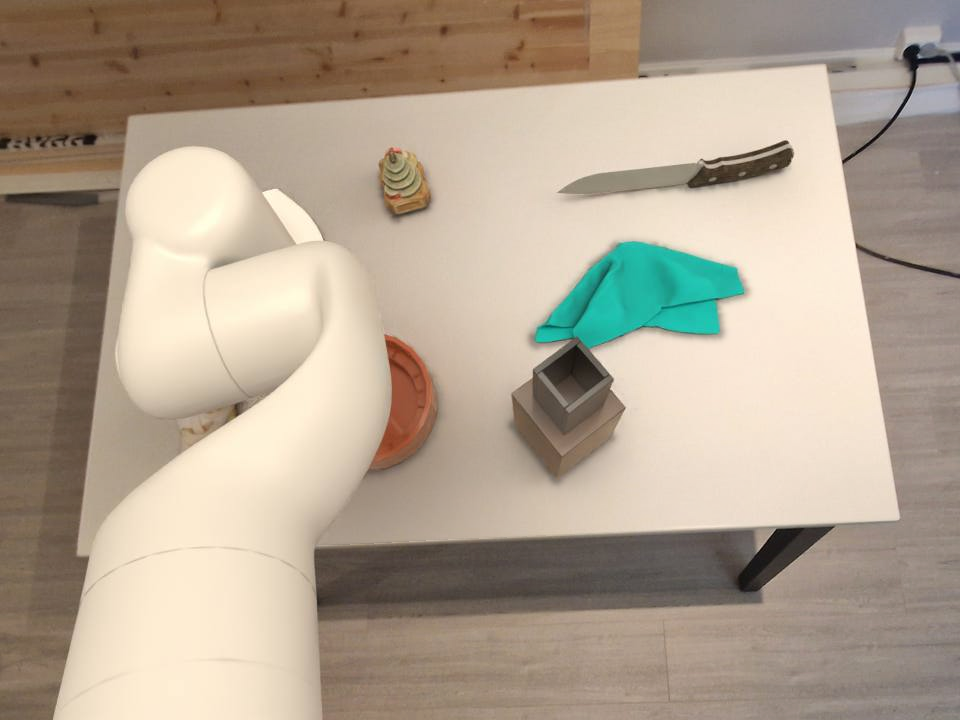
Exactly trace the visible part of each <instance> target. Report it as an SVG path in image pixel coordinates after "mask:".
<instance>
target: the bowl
mask: <svg viewBox="0 0 960 720" xmlns="http://www.w3.org/2000/svg"><path fill="white" fill-rule="evenodd" d="M384 337H385V343H386V348H387V354H388V360H389V366H390V372H391V382H392V400H391V410H390V415H389V419H388V423H387V426H386V430H385V433H384V435H383V438H382V441H381V443H380V445H379V447H378V450H377V452H376V454H375V456H374V458H373V460H372V462H371V464H370V466H369V468H368V470H384V469H387V468H390V467H392V466H395V465H399V464H400V463H402V462H404V461H405V460H407V459H408V458H409V457H411V456H412V455H413V454H414V453H416V452H417V451H419V450H420V448H421V447H422V445H423V444H424V443H425V441H426V440H427V439H428V437H429V436H430V434H431V432H432V429H433V426H434V423H435V420H436V417H437V413H438V411H437V409H438V405H437V403H438V398H437V397H438V395H437V391H436V388H435V385H434V381H433V379H432V376H431V374H430V372H429V370H428V368H427V366H426V363H425V362H424V361H423V359H422V358H421V357H420V356H419V354H418V353H417V352H416V350H415V349H414V348H413V347H411V346H410V345H409V344H407V343H405V342H404V341H402V340H401V339H400V338H398V337H396V336H393V335H390V334H389V335H388V334H385V333H384ZM368 470H367V471H368Z"/></svg>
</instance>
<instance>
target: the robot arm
mask: <svg viewBox="0 0 960 720" xmlns="http://www.w3.org/2000/svg"><path fill="white" fill-rule="evenodd" d="M262 192H263V191H262V190H261V189H260V188H259V186H258V185H257V183H256V182H255V180H254V178H253V177H252V176H251V174H250V173H249V172H248V171H247V169H246V168H245V167H244V166H243V165H242V164H241V163H240V162H239V161H238V160H236V159H235V158H234V157H232V156H231V155H229V154H228V153H226V152H223V151H221V150H219V149H216V148H213V147H207V146H198V145H197V146H193V145H191V146H188V145H187V146H182V147H176V148H173V149H170V150H168V151H166V152H164V153H162V154H160V155H158V156H156V157H154V158H153V159H152V160H150V161H149V162H148V163H146V164H145V165H144V166H143V167H142V168H141V169H140V171H139V172H138V173H137V174H136V175H135V177H134V178H133V181H132V182H131V183H130V186H129V189H128V190H127V193H126V198H125V204H124V217H125V222H126V226H127V227H126V228H127V229H128V232H129V234H130V236H131V239H132V244H131V250H130V251H131V252H130V259H129V265H128V274H127V278H126V284H125V290H124V294H123V299H122V307H121V311H120V316H119V324H118V330H117V331H118V332H117V339H116V342H115V347H114V362H115V368H116V371H117V374H118V377H119V380H120V382H121V384H122V385H123V387H124V389H125V392H126V394H127V395H128V398H129V399H130V400H131V402H132V403H133V404H134V406H136V408H138V409H139V411H141V412H142V413H143V414H145V415H148V416H150V417H151V418H154V419H157V420H164V421H176V420H177V419H183V418H188V417H192V416H196V415H199V414H203V413H206V412H209V411H213V410H216V409H219V408H222V407H225V406H229V405H232V404H235V405H236V404H239V403H242V402H244V401H248V400H251V399H254V398H258V397H261V396H263V395H267V394H268V395H267V396H265V397H264V398H262V399H261V400H259V401H258V402H256V403H255V404H254V405H253V406H251V407H250V408H248V409H247V410H245V411H244V412H242V413H241V414H239V415H237V416H236V418H234V419H233V420H231V421H230V422H227V424H225V425H224V426H222V427H220V428H219V429H217V430H216V431H214V432H213V433H211V434H210V435H208V436H206V437H205V438H203V439H202V440H200V441H199V442H197V443H195V444H194V445H192V446H191V447H190V448H188V449H187V450H185V451H184V452H182V453H181V454H180V455H179V454H178V455H177V456H175V457H174V458H172V459H171V460H169V461H168V462H167V463H165V464H164V465H163V466H162V467H160V468H159V469H158V470H157V471H155V472H154V473H153V474H151V475H150V476H149V477H148V478H146V479H145V480H144V481H143V482H141V483H140V484H139V485H138V486H136V487H135V488H134V489H133V490H132V491H131V492H129V493H128V494H127V495H126V496H125V497H124V498H123V499H121V501H120V502H119V503H118V504H117V505H116V506H114V508H113V509H112V511H110V512H109V514H108V515H107V516H106V517H105V519H104V521H103V522H102V523H101V525H100V527H99V528H98V530H97V532H96V534H95V537H94V539H93V541H92V545H91V549H90V553H89V558H88V562H87V566H86V573H85V577H84V582H83V587H82V590H81V596H80V600H79V603H78V608H77V612H76V613H77V614H76V619H75V624H74V627H73V631H72V635H71V636H72V637H71V640H70V645H69V650H68V653H67V657H66V661H65V665H64V671H63V675H62V679H61V683H60V687H59V691H58V695H57V700H56V705H55V708H54V713H53V717H52V720H323V718H324V717H323V702H322V681H321V661H320V660H321V659H320V639H319V618H318V597H317V583H316V582H317V581H316V567H315V566H316V565H315V549H316V546H317V544H318V543H319V541H320V540H321V539H322V537H323V536H324V534H325V533H326V532H327V531H328V529H329V528H330V527H331V526H332V525H333V523H334V522H335V521H336V520H337V518H338V517H339V515H340V514H341V513H342V511H343V510H344V509H345V508H346V506H347V505H348V503H349V502H350V500H351V498H352V497H354V494H355V492H356V491H357V489H358V487H359V486H360V484H361V483H362V481H363V479H364V478H365V475H366V474H367V471H368V468H369V466H370V464H371V462H372V460H373V458H374V456H375V454H376V452H377V450H378V447H379V445H380V443H381V441H382V438H383V435H384V433H385V430H386V426H387V423H388V419H389V415H390V410H391V400H392V382H391V372H390V366H389V360H388V354H387V348H386V343H385V337H384V334H385V330H384V325H383V321H382V317H381V311H380V310H381V309H380V306H379V302H378V298H377V295H376V292H375V290H374V289H375V288H374V286H373V283H372V281H371V278H370V277H369V273H368V272H367V271H366V269H365V267H364V266H363V264H362V262H361V261H360V260H359V259H358V257H357V256H355V254H354V253H353V252H352V251H350V250H349V249H348V248H347V247H345V246H343V245H342V244H339V243H337V242H333V241H330V240H329V241H328V240H323V241H320V240H319V241H310V242H305V243H301V244H296V243H295V241H294V240H293V238H292V237H291V235H290V234H289V232H288V231H287V229H286V228H285V226H284V225H283V223H282V222H281V220H280V219H279V217H278V216H277V214H276V213H275V211H274V210H273V208H272V207H271V205H270V204H269V202H268V201H267V199H266V198H265V196H264V195H263V193H262Z"/></svg>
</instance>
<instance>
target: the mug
mask: <svg viewBox="0 0 960 720" xmlns="http://www.w3.org/2000/svg"><path fill="white" fill-rule="evenodd" d="M235 407H236V403H235V404H232V405H229V406H225V407H222V408H219V409H216V410H213V411H209V412H206V413H203V414H199V415H196V416H192V417H188V418H183V419H177V420H175V423H176V427H177V430H178V433H179V447H178V448H179V449H178V455H180V454H181V453H182V452H184V451H185V450H187V449H188V448H190V447H191V446H192V445H194V444H195V443H197V442H199V441H200V440H202V439H203V438H205V437H206V436H208V435H210V434H211V433H213V432H214V431H216V430H217V429H219V428H220V427H222V426H224V425H225V424H227V423H228V422H230V421H231V420H233V419H234V418H236V417H237V411H236V409H235Z"/></svg>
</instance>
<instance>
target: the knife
mask: <svg viewBox="0 0 960 720" xmlns="http://www.w3.org/2000/svg"><path fill="white" fill-rule="evenodd" d="M794 158H795V150H794V147H793V146H792V144H790V141H789V140H787V139H785V140H782V141H780V142H776V143H775V144H771V145H768V146H766V147H763V148H760V149H756V150H753V151H749V152H745V153H741V154H736V155H730V156H720V157H717V158H715V159H711V160H706V159H703V158H700V159H699V160H698V161H697V162H691V163H690V162H689V163H681V164H680V163H679V164H673V165H672V164H670V165H662V166H653V167H646V168H636V169H626V170H618V171H609V172H600V173H595V174H590V175H587V176H583V177H580V178H578V179H577V180H574V181H571V182H570V183H568V184H567V185H565V186H564V187H562V188H561V189H559V190H558V191H557V192H556V194H562V195H595V194H596V195H597V194H604V193H605V194H607V193H614V192H623V191H633V190H643V189H651V188H659V187H661V188H662V187H670V186H679V185H685V184H687V185H688V187H689V188H694V187H700V186H706V185H707V186H709V185H713V184H720V183H726V182H732V181H737V180H742V179H747V178H750V177H754V176H759V175H762V174H767V173H771V172H776V171H778V170H782V169H785V168H788V167H789V166H790V165H791V163H792V162H793V161H792V160H793V159H794Z"/></svg>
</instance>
